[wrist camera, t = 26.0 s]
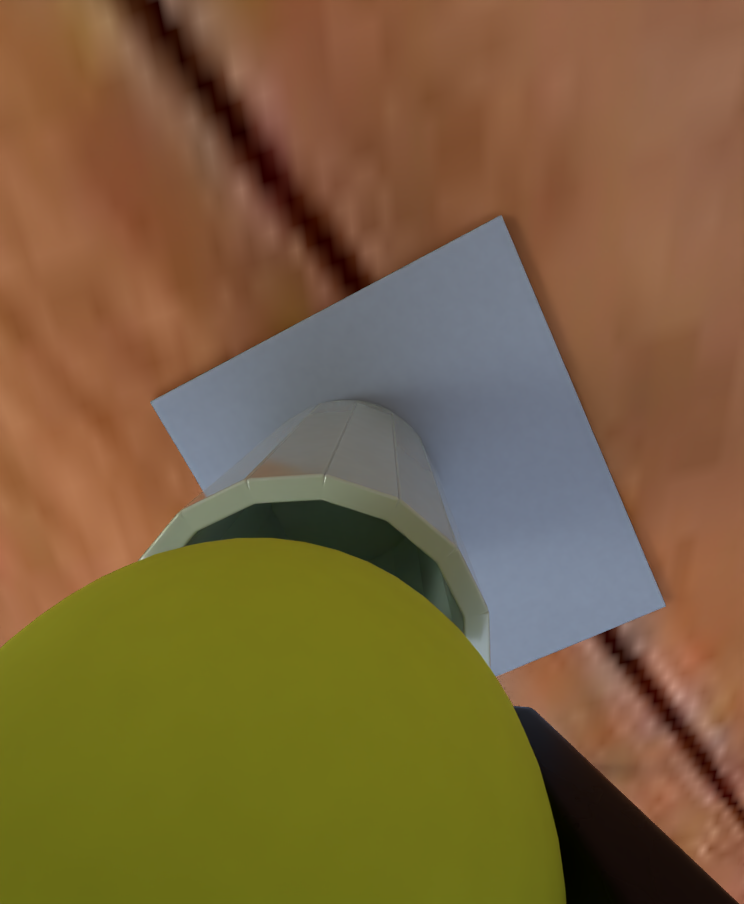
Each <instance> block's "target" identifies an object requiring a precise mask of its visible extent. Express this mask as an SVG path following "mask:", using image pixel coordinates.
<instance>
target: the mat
mask: <svg viewBox="0 0 744 904" xmlns="http://www.w3.org/2000/svg"><path fill="white" fill-rule="evenodd" d="M333 400H360V401H366V402H369V403H373V404H376V405H379V406H381V407H384V408H386V409H388V410H389V411H391V412H393V413H395V414H396V415H398V416H399V417H400V418H402V419H403V420H404V421H405V422H406V423H407V424H408V425H409V426H410V427H411V428H412V429H413V430H414V431H415V432H416V433H417V434H418V435H419V437H420V438H421V440H422V442H423V444H424V446H425V447H426V449H427V452H428V454H429V456H430V458H431V460H432V462H433V465H434V467H435V469H436V472H437V475H438V477H439V480H440V482H441V485H442V488H443V490H444V493H445V496H446V498H447V501H448V504H449V506H450V509H451V511H452V514H453V517H454V519H455V522H456V525H457V527H458V530H459V533H460V535H461V538H462V541H463V543H464V546H465V548H466V551H467V554H468V556H469V559H470V562H471V564H472V567H473V570H474V572H475V575H476V577H477V580H478V583H479V585H480V588H481V591H482V593H483V596H484V599H485V601H486V604H487V606H488V611H489V616H490V664H491V670H492V672H493V673H494V675H495V676H498V675H501V674H503V673H506V672H508V671H510V670H513V669H515V668H518V667H520V666H522V665H525V664H527V663H530V662H532V661H535V660H537V659H539V658H542V657H544V656H547V655H549V654H552V653H554V652H556V651H559V650H561V649H564V648H566V647H568V646H571V645H573V644H576V643H578V642H581V641H583V640H585V639H588V638H590V637H593V636H595V635H597V634H600V633H602V632H605V631H607V630H610V629H612V628H614V627H617V626H619V625H622V624H624V623H626V622H629V621H631V620H634V619H636V618H639V617H641V616H643V615H646V614H648V613H651V612H653V611H655V610H658V609H660V608H663V607H665V606H666V605H665V602H664V600H663V598H662V595H661V593H660V590H659V588H658V586H657V583H656V581H655V579H654V576H653V574H652V571H651V569H650V567H649V564H648V562H647V560H646V557H645V555H644V552H643V550H642V548H641V545H640V543H639V541H638V538H637V536H636V533H635V531H634V529H633V526H632V524H631V522H630V519H629V517H628V514H627V512H626V510H625V507H624V505H623V503H622V500H621V498H620V495H619V493H618V491H617V488H616V486H615V484H614V481H613V479H612V476H611V474H610V472H609V469H608V467H607V465H606V462H605V460H604V457H603V455H602V453H601V450H600V448H599V446H598V443H597V441H596V438H595V436H594V434H593V431H592V429H591V427H590V424H589V422H588V419H587V417H586V415H585V412H584V410H583V408H582V405H581V403H580V400H579V398H578V396H577V393H576V391H575V389H574V386H573V384H572V381H571V379H570V377H569V374H568V372H567V370H566V367H565V365H564V362H563V360H562V358H561V355H560V353H559V351H558V348H557V346H556V343H555V341H554V339H553V336H552V334H551V332H550V329H549V327H548V324H547V322H546V320H545V317H544V315H543V313H542V310H541V308H540V305H539V303H538V301H537V298H536V296H535V294H534V291H533V289H532V286H531V284H530V282H529V279H528V277H527V275H526V272H525V270H524V267H523V265H522V263H521V260H520V258H519V255H518V253H517V251H516V248H515V246H514V244H513V241H512V239H511V236H510V234H509V232H508V229H507V227H506V225H505V222H504V220H503V217H502V216H501V215H500V216H498V217H496V218H494V219H493V220H491V221H489V222H487V223H485V224H483V225H481V226H479V227H478V228H476V229H474V230H472V231H470V232H468V233H466V234H464V235H462V236H461V237H459V238H457V239H455V240H453V241H451V242H449V243H447V244H446V245H444V246H442V247H440V248H438V249H436V250H434V251H432V252H431V253H429V254H427V255H425V256H423V257H421V258H419V259H417V260H416V261H414V262H412V263H410V264H408V265H406V266H404V267H402V268H401V269H399V270H397V271H395V272H393V273H391V274H389V275H387V276H385V277H384V278H382V279H380V280H378V281H376V282H374V283H372V284H370V285H369V286H367V287H365V288H363V289H361V290H359V291H357V292H355V293H354V294H352V295H350V296H348V297H346V298H344V299H342V300H340V301H339V302H337V303H335V304H333V305H331V306H329V307H327V308H325V309H323V310H322V311H320V312H318V313H316V314H314V315H312V316H310V317H308V318H307V319H305V320H303V321H301V322H299V323H297V324H295V325H293V326H292V327H290V328H288V329H286V330H284V331H282V332H280V333H278V334H277V335H275V336H273V337H271V338H269V339H267V340H265V341H263V342H262V343H260V344H258V345H256V346H254V347H252V348H250V349H248V350H246V351H245V352H243V353H241V354H239V355H237V356H235V357H233V358H231V359H230V360H228V361H226V362H224V363H222V364H220V365H218V366H216V367H215V368H213V369H211V370H209V371H207V372H205V373H203V374H201V375H200V376H198V377H196V378H194V379H192V380H190V381H188V382H186V383H184V384H183V385H181V386H179V387H177V388H175V389H173V390H171V391H169V392H168V393H166V394H164V395H162V396H160V397H158V398H156V399H154V400H153V401H151V404H152V406H153V408H154V410H155V411H156V413H157V415H158V416H159V418H160V420H161V421H162V423H163V425H164V426H165V428H166V430H167V431H168V433H169V435H170V436H171V438H172V440H173V441H174V443H175V445H176V446H177V448H178V450H179V451H180V453H181V455H182V456H183V458H184V460H185V462H186V463H187V465H188V467H189V468H190V470H191V472H192V473H193V475H194V477H195V478H196V480H197V482H198V483H199V485H200V487H201V488H202V490H203V491H204V490H205V489H206V488H208V487H209V486H210V485H211V484H212V483H214V482H215V481H216V480H217V479H218V478H219V477H221V476H222V475H223V474H224V473H225V472H227V471H228V470H229V469H230V468H231V467H232V466H234V465H235V464H236V463H237V462H238V461H240V460H241V459H242V458H243V457H244V456H245V455H247V454H248V453H249V452H250V451H251V450H253V449H254V448H255V447H256V446H257V445H258V444H260V443H261V442H262V441H263V440H264V439H266V438H267V437H268V436H269V435H270V434H271V433H273V432H274V431H275V430H276V429H277V428H279V427H280V426H281V425H282V424H283V423H284V422H286V421H287V420H288V419H289V418H291V417H293V416H295V415H297V414H298V413H300V412H302V411H304V410H305V409H307V408H309V407H312V406H314V405H317V404H319V403H323V402H327V401H333Z"/></svg>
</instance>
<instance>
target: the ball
mask: <svg viewBox="0 0 744 904" xmlns="http://www.w3.org/2000/svg"><path fill="white" fill-rule="evenodd" d="M0 904H566V891H565V882H564V875H563V867H562V860H561V853H560V846H559V839H558V835H557V831H556V827H555V823H554V819H553V815H552V810H551V806H550V803H549V799H548V795H547V792H546V788H545V785H544V781H543V778H542V774H541V770H540V767H539V764H538V762H537V759H536V757H535V755H534V752H533V750H532V748H531V745H530V743H529V740H528V738H527V736H526V733H525V731H524V729H523V727H522V724H521V722H520V720H519V718H518V716H517V713H516V711H515V709H514V707H513V705H512V703H511V701H510V700H509V698H508V696H507V695H506V693H505V691H504V690H503V688H502V686H501V685H500V683H499V681H498V680H497V678H496V676H495V675H494V673H493V672H492V670H491V669H490V668H489V666H488V665H487V663H486V662H485V660H484V659H483V658H482V656H481V655H480V653H479V652H478V651H477V650H476V649H475V647H474V646H473V645H472V644H471V642H470V641H469V640H468V639H467V638H466V636H465V635H464V634H463V633H462V631H461V630H460V629H459V628H458V627H457V626H456V625H455V624H454V623H453V622H452V621H450V620H449V619H448V618H447V617H446V616H445V615H444V614H443V613H442V612H441V611H440V610H439V609H438V608H436V607H435V606H434V605H433V604H432V603H431V602H430V601H429V600H427V599H426V598H425V597H424V596H423V595H421V594H420V593H418V592H417V591H416V590H414V589H413V588H411V587H410V586H409V585H407V584H406V583H404V582H403V581H402V580H400V579H399V578H397V577H396V576H394V575H392V574H390V573H388V572H386V571H384V570H382V569H381V568H379V567H377V566H375V565H373V564H371V563H369V562H367V561H365V560H362V559H359V558H357V557H354V556H352V555H349V554H346V553H344V552H341V551H339V550H335V549H331V548H327V547H323V546H319V545H315V544H311V543H307V542H301V541H293V540H285V539H277V538H234V539H226V540H218V541H210V542H204V543H198V544H193V545H189V546H185V547H181V548H177V549H173V550H169V551H165V552H161V553H158V554H155V555H152V556H150V557H147V558H145V559H142V560H140V561H137V562H135V563H132V564H130V565H128V566H125V567H123V568H121V569H118V570H116V571H114V572H112V573H110V574H107V575H105V576H103V577H101V578H99V579H97V580H95V581H94V582H92V583H90V584H88V585H87V586H85V587H83V588H81V589H80V590H78V591H76V592H75V593H73V594H71V595H69V596H68V597H66V598H65V599H63V600H62V601H60V602H59V603H58V604H56V605H55V606H53V607H52V608H50V609H49V610H47V611H46V612H44V613H43V614H42V615H40V616H39V617H37V618H36V619H35V620H34V621H32V622H31V623H30V624H29V625H27V626H26V627H25V628H24V629H22V630H21V631H20V632H19V633H17V634H16V635H15V636H14V637H12V638H11V639H10V640H9V641H8V642H6V643H5V644H4V645H3V646H2V647H1V648H0Z"/></svg>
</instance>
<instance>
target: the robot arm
mask: <svg viewBox="0 0 744 904" xmlns="http://www.w3.org/2000/svg"><path fill="white" fill-rule="evenodd" d="M513 707H514V709H515V711H516V713H517V716H518V718H519V720H520V722H521V724H522V727H523V729H524V731H525V733H526V736H527V738H528V740H529V743H530V745H531V748H532V750H533V752H534V755H535V757H536V759H537V762H538V764H539V767H540V770H541V774H542V778H543V781H544V785H545V788H546V792H547V795H548V799H549V803H550V806H551V810H552V815H553V819H554V823H555V827H556V831H557V835H558V839H559V846H560V853H561V860H562V867H563V875H564V882H565V891H566V904H739V903H738V902H737V901H736V900H735V899H734V898H732V897H731V896H730V895H729V894H728V893H727V892H726V891H725V890H724V889H723V888H722V887H721V886H720V885H719V884H718V883H717V882H716V881H715V880H713V879H712V878H711V877H710V876H709V875H708V874H707V873H706V872H705V871H704V870H703V869H702V868H701V867H700V866H699V865H698V864H697V863H696V862H694V861H693V860H692V859H691V858H690V857H689V856H688V855H687V854H686V853H685V852H684V851H683V850H682V849H681V848H680V847H679V846H678V845H676V844H675V843H674V842H673V841H672V840H671V839H670V838H669V837H668V836H667V835H666V834H665V833H664V832H663V831H662V830H661V829H660V828H659V827H657V826H656V825H655V824H654V823H653V822H652V821H651V820H650V819H649V818H648V817H647V816H646V815H645V814H644V813H643V812H642V811H641V810H640V809H638V808H637V807H636V806H635V805H634V804H633V803H632V802H631V801H630V800H629V799H628V798H627V797H626V796H625V795H624V794H623V793H622V792H621V791H619V790H618V789H617V788H616V787H615V786H614V785H613V784H612V783H611V782H610V781H609V780H608V779H607V778H606V777H605V776H604V775H603V774H601V773H600V772H599V771H598V770H597V769H596V768H595V767H594V766H593V765H592V764H591V763H590V762H589V761H588V760H587V759H586V758H585V757H584V756H582V755H581V754H580V753H579V752H578V751H577V750H576V749H575V748H574V747H573V746H572V745H571V744H570V743H569V742H568V741H567V740H566V739H565V738H563V737H562V736H561V735H560V734H559V733H558V732H557V731H556V730H555V729H554V728H553V727H552V726H551V725H550V724H549V723H548V722H547V721H546V720H544V719H543V718H542V717H541V716H540V715H539V714H538V713H537V712H536V711H535V710H533V709H532V708H529V707H518V706H513Z"/></svg>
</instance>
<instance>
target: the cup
mask: <svg viewBox="0 0 744 904" xmlns="http://www.w3.org/2000/svg"><path fill="white" fill-rule="evenodd" d="M234 538H277V539H285V540H293V541H301V542H307V543H311V544H315V545H319V546H323V547H327V548H331V549H335V550H339V551H341V552H344V553H346V554H349V555H352V556H354V557H357V558H359V559H362V560H365V561H367V562H369V563H371V564H373V565H375V566H377V567H379V568H381V569H382V570H384V571H386V572H388V573H390V574H392V575H394V576H396V577H397V578H399V579H400V580H402V581H403V582H404V583H406V584H407V585H409V586H410V587H411V588H413V589H414V590H416V591H417V592H418V593H420V594H421V595H423V596H424V597H425V598H426V599H427V600H429V601H430V602H431V603H432V604H433V605H434V606H435V607H436V608H438V609H439V610H440V611H441V612H442V613H443V614H444V615H445V616H446V617H447V618H448V619H449V620H450V621H452V622H453V623H454V624H455V625H456V626H457V627H458V628H459V629H460V630H461V631H462V633H463V634H464V635H465V636H466V638H467V639H468V640H469V641H470V642H471V644H472V645H473V646H474V647H475V649H476V650H477V651H478V652H479V653H480V655H481V656H482V658H483V659H484V660H485V662H486V663H487V665H488V666H489V668H490V669H491V664H490V616H489V611H488V606H487V604H486V601H485V599H484V596H483V593H482V591H481V588H480V585H479V583H478V580H477V577H476V575H475V572H474V570H473V567H472V564H471V562H470V559H469V556H468V554H467V551H466V548H465V546H464V543H463V541H462V538H461V535H460V533H459V530H458V527H457V525H456V522H455V519H454V517H453V514H452V511H451V509H450V506H449V504H448V501H447V498H446V496H445V493H444V490H443V488H442V485H441V482H440V480H439V477H438V475H437V472H436V469H435V467H434V465H433V462H432V460H431V458H430V456H429V454H428V452H427V449H426V447H425V446H424V444H423V442H422V440H421V438H420V437H419V435H418V434H417V433H416V432H415V431H414V430H413V429H412V428H411V427H410V426H409V425H408V424H407V423H406V422H405V421H404V420H403V419H402V418H400V417H399V416H398V415H396V414H395V413H393V412H391V411H389V410H388V409H386V408H384V407H381V406H379V405H376V404H373V403H369V402H366V401H360V400H333V401H327V402H323V403H319V404H317V405H314V406H312V407H309V408H307V409H305V410H304V411H302V412H300V413H298V414H297V415H295V416H293V417H291V418H289V419H288V420H287V421H286V422H284V423H283V424H282V425H281V426H280V427H279V428H277V429H276V430H275V431H274V432H273V433H271V434H270V435H269V436H268V437H267V438H266V439H264V440H263V441H262V442H261V443H260V444H258V445H257V446H256V447H255V448H254V449H253V450H251V451H250V452H249V453H248V454H247V455H245V456H244V457H243V458H242V459H241V460H240V461H238V462H237V463H236V464H235V465H234V466H232V467H231V468H230V469H229V470H228V471H227V472H225V473H224V474H223V475H222V476H221V477H219V478H218V479H217V480H216V481H215V482H214V483H212V484H211V485H210V486H209V487H208V488H206V489H205V490H204V491H203V492H202V493H200V494H199V495H198V496H197V497H196V498H195V499H193V500H192V501H191V502H190V503H189V504H187V505H186V506H185V507H184V508H183V509H182V510H180V511H179V512H178V513H177V514H176V515H175V516H174V518H173V519H172V520H171V521H170V523H169V524H168V525H167V526H166V527H165V529H164V530H163V531H162V532H161V533H160V535H159V536H158V537H157V538H156V539H155V541H154V542H153V543H152V544H151V546H150V547H149V548H148V549H147V550H146V552H145V553H144V554H143V555H142V556H141V558H140V559H139V560H138V561H140V560H142V559H145V558H147V557H150V556H152V555H155V554H158V553H161V552H165V551H169V550H173V549H177V548H181V547H185V546H189V545H193V544H198V543H204V542H210V541H218V540H226V539H234Z"/></svg>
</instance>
